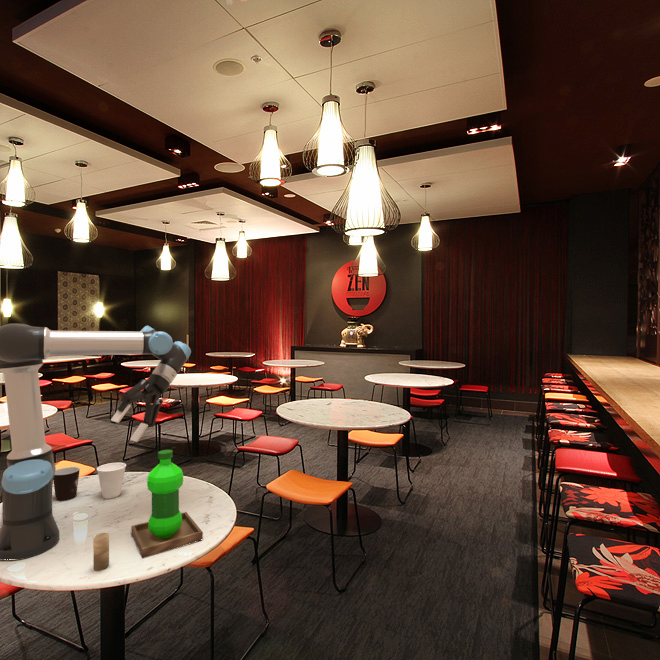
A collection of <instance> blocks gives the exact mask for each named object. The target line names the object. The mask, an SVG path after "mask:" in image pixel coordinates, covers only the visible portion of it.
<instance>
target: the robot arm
mask: <svg viewBox="0 0 660 660" xmlns="http://www.w3.org/2000/svg"><path fill="white" fill-rule="evenodd" d="M191 353H192V350H191V348H190V346H189V345H187V344H186V343H185V342H184V343H183V342H182V341H179V340H178V341H174V342H173V338H172V336H171V335H169V333H167V332H165V331H158V330H155V328H152V327H151V326H149V325H145V326H144V327H143V328H142V329H141V330H140V331H132V330H131V331H125V330H124V331H123V330H121V331H119V330H118V331H117V330H115V331H113V330H108V331H107V330H52V329H49V328H48V327H46V326H43V327H42V326H31V325H29V324H26V323H8V324H3V325H1V326H0V372H1V373H2V374H3V378H4V387H5V395H6V404H7V414H8V422H9V423H8V425H9V433H10V443H11V451H10V452H9V453H8V454H7V456H6V464H7V468H6V469H5V470H4V472H3V474H2V478H1V483H0V484H1V489H2V502H1V505H2V514H1V515H2V517H1V520H2V525H1V528H0V559H6V560H7V559H8V560H9V559H19V560H23V559H22V558H24V559H28V558H31V557H33V556H34V555H35V556H37V555H40V554H43V553H44V552H46V551H48V550H50V549H51V548H53V547H55V546H56V545H57V544H58V543H59V541H60V530H59V527H58V525H57V522H56V520H55V518H54V515H53V487H54V481H53V479H54V475H55V471H56V470H57V469H56V463H55V461H54V456H53V454H54V453H53V448H52V445H49V444H48V443H46V434H45V425H44V424H45V423H44V416H43V406H42V397H41V389H40V388H41V387H40V378H39V376H40V375H39V370H40V368H41V367H42V366H43V365H44V361H43V360H47V359H49V358H50V357H58V356H59V357H64V356H65V357H66V356H107V355H108V356H113V355H114V356H115V355H117V356H118V355H119V356H120V355H126V356H127V355H152V356H153V357H155V358H156V359H158V360H160V361H159V362H158V364H157V366H156V367H154V369H153V371H152V373H151V374H150V375H149V376H148V378H147V379H141V380H140V381H139V382H138V383H137V384H135V385H134V386H132V387H131V388H129V389H127V390H126V391H124V393H122V394H121V398H120V402H121V403H120V405H119V407H118V408H117V410H116V412H115V413H114V414H113V416H111V419H110V421H111V422H114V423H118V424H119V423H120V422H121V421H122V419H123V417H124V416H125V414H126V413H127V412H128V411H129V410H130V408H131V407H132V405H131V404H132V403H135V402H137V401H140V400H143V402H144V405H145V411H144V417H143V422H140V423H139V425H138V426H137V428H136V429H135V431H134V433H133V434H132V435H131V436H130V439H129V440H130V441H131V442H135V443H138V442H139V440H140V439H141V437H142V436H143V435H144V434H145V432H146V431H147V429H148V428H149V427H151V428H153V427H154V426H155V423H156V422H157V421H156V420H157V417H158V415H159V412H160V408H161V406H162V405H163V403H164V400H163V399H160V397H161V395H163V394H165V393H166V392H167V391H168V389H169V387H170V386H171V385H170V384H172V383H173V381H174V380H175V378H176V376H177V375H178V374H179V372H180V371H181V369H182V368H183V367H184V365H185V363H187V361H188V359H189V358H190V356H191ZM30 556H31V557H30ZM27 557H28V558H27ZM6 560H5V561H6ZM9 561H10V560H9Z"/></svg>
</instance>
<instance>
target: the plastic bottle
mask: <svg viewBox="0 0 660 660" xmlns="http://www.w3.org/2000/svg"><path fill="white" fill-rule="evenodd" d="M173 452H174V451H173V449H162V450H160V451H158V452H157V459H158V460H159V463H158V464H157V465H156V466H155V467H154V468H152V470H151V471H149V473H148V475H147V478H146V482H147V484H146V486H147V490H148V491H149V492H151V514H150V516H149V519H148V522H149V524H148V529H149V531H150V532H151V533H152V534H153V535H155V536H156V537H158V538H168V537H171V536H172V535H174V533H175V532H176V531H177V530H178V529H179V528H180V527H181V524H182V514H181V513H182V512H181V510H180V495H179V494H180V490H179V489H180V488H181V487H182V486H183V482H184V473H183V470H182V468H181V467H179V466H178V465H177V464H175V463H173V462H172V458H173Z"/></svg>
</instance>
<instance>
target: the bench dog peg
mask: <svg viewBox="0 0 660 660" xmlns="http://www.w3.org/2000/svg"><path fill="white" fill-rule="evenodd" d="M92 542H93V543H92V544H93V546H92V547H93V551H92V552H93V558H92V559H93V561H92V562H93V570H94V571H95V572H99V571H103V570H106V569H107V568H109V567H110V534H109V533H107V532H105V533H104V532H103V533H99V534H96V535H94V536H93V541H92Z"/></svg>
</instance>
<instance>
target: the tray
mask: <svg viewBox="0 0 660 660" xmlns="http://www.w3.org/2000/svg"><path fill="white" fill-rule="evenodd" d="M181 514H182V524H181V527H180V528H179V529H178V530H177V531H176V532H175V533H174V535H172V536H171V537H168V538H158V537H156V536H155V535H153V534H152V533H151V532H150V531H149V529H148V524H149V521H146V522H141V523H137V524H134V525H133V524H132V525H131V526H130V527H131V528H130V529H131V530H130V531H131V532H130V534H131V537H132V539H133V541H134V543H135V545H136V546H137V547H136V548H137V550H138V552H139V553H140V556H141V558H142V559H144V558H146V557H147V558H148V557H151V556H154V555H157V554H160V553H165V552H167V551H171V550H174V548H175V549H178V548H181V547H184V546H183V545H185V546H187V545H186V544H188V545H190V544H189V543H191V544H193V543H192V542H195V541H197V540H201V539H204V538H203V537H204V535H203V534H204V533H203V530H202V529H201V528H200V527H199V526H198V524H197V523H196V522H195V521H194V520H193V518H192V517H191V516H190V514H189V513H188V512H187V511H183V512H181ZM201 541H202V540H201ZM195 543H196V542H195ZM180 546H181V547H180ZM177 547H178V548H177Z"/></svg>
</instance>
